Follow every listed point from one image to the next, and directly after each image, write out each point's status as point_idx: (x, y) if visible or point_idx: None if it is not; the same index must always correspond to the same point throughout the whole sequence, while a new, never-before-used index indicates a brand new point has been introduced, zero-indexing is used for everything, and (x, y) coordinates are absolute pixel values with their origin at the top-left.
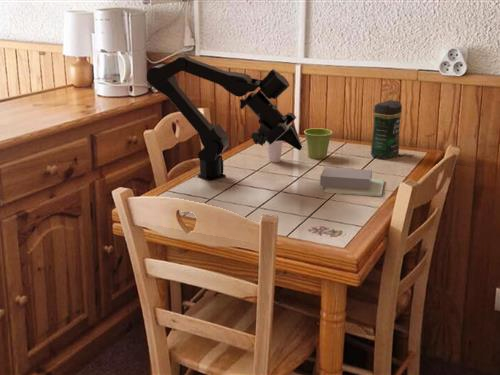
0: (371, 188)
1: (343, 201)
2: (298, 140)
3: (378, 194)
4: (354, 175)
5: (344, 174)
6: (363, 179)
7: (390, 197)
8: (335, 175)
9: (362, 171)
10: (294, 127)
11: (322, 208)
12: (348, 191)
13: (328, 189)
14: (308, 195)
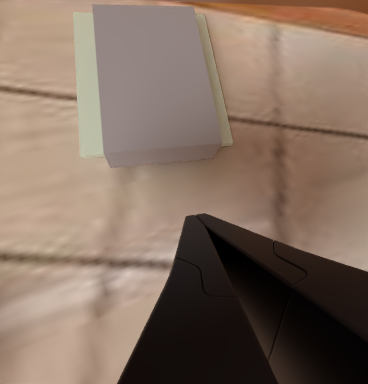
0: None
1: (273, 90)
2: (231, 233)
3: (205, 20)
4: (171, 46)
5: (173, 74)
6: (196, 23)
7: (199, 3)
8: (195, 98)
9: (117, 28)
10: (221, 352)
11: (339, 125)
12: (214, 83)
13: (221, 133)
14: (273, 179)
